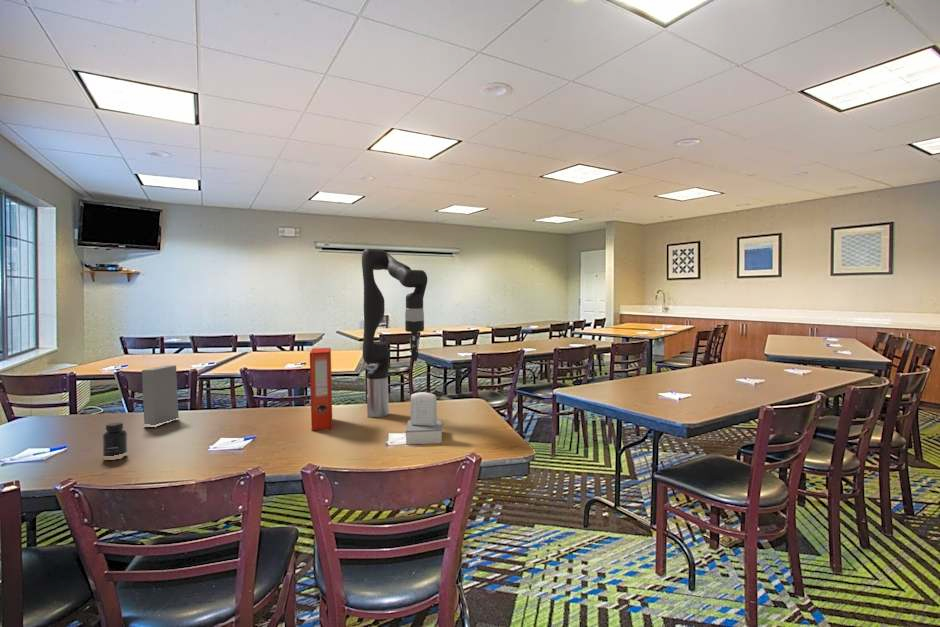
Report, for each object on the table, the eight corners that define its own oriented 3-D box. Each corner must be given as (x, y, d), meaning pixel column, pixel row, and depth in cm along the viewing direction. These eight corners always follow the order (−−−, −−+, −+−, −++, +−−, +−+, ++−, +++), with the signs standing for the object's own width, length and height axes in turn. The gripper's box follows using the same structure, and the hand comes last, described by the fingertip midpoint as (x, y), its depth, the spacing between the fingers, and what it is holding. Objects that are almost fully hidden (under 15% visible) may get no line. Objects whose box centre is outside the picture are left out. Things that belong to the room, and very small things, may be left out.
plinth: (406, 444, 176) (405, 430, 176) (408, 432, 191) (408, 420, 191) (441, 442, 177) (441, 429, 177) (441, 431, 192) (441, 418, 192)
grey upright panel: (167, 419, 221) (164, 365, 220) (179, 420, 220) (176, 365, 219) (142, 428, 207) (139, 370, 206) (155, 428, 206) (152, 370, 205)
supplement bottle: (108, 462, 163) (106, 427, 163) (99, 459, 167) (97, 425, 167) (131, 456, 169) (129, 422, 169) (122, 453, 173) (120, 420, 172)
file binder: (333, 418, 215) (330, 347, 214) (332, 429, 199) (329, 351, 198) (314, 420, 213) (311, 348, 212) (311, 431, 197) (308, 352, 195)
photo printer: (438, 423, 185) (437, 391, 184) (435, 426, 181) (434, 394, 180) (413, 422, 187) (412, 390, 187) (409, 425, 183) (408, 393, 183)
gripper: (406, 318, 202) (406, 356, 203) (403, 321, 188) (404, 362, 189) (424, 318, 202) (424, 356, 203) (423, 320, 188) (423, 362, 189)
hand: (414, 359), depth 196 cm, fingers open, 8 cm apart
